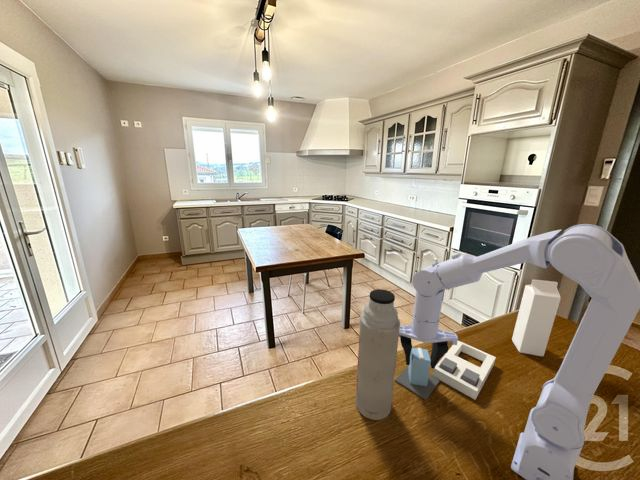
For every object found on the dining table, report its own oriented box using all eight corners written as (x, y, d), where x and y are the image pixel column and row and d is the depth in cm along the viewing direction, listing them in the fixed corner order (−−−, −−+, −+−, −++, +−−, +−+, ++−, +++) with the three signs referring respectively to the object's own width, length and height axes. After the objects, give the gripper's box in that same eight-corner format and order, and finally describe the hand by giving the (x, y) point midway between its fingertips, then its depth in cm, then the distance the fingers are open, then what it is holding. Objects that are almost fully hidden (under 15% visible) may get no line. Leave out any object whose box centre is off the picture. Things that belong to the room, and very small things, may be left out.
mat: (425, 400, 61) (425, 399, 61) (394, 380, 67) (395, 379, 67) (439, 381, 67) (439, 380, 66) (410, 364, 72) (410, 363, 72)
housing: (475, 400, 61) (477, 391, 61) (432, 376, 68) (434, 368, 68) (493, 364, 72) (495, 357, 71) (455, 347, 79) (456, 339, 78)
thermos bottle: (349, 409, 59) (355, 297, 51) (363, 384, 66) (369, 281, 58) (384, 427, 55) (396, 308, 47) (395, 398, 62) (407, 290, 54)
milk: (511, 340, 82) (527, 274, 76) (534, 343, 81) (552, 277, 75) (519, 352, 77) (537, 283, 71) (544, 357, 75) (564, 286, 69)
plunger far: (450, 380, 66) (452, 369, 66) (438, 373, 69) (440, 363, 68) (455, 373, 68) (457, 363, 68) (443, 367, 71) (445, 357, 70)
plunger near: (473, 392, 63) (475, 381, 62) (460, 385, 65) (462, 374, 64) (477, 385, 65) (479, 374, 64) (464, 378, 67) (466, 368, 66)
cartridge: (427, 386, 65) (431, 359, 62) (410, 383, 65) (413, 357, 63) (424, 373, 68) (427, 348, 66) (408, 371, 69) (411, 346, 67)
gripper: (454, 309, 64) (446, 356, 68) (392, 303, 66) (388, 349, 70) (464, 327, 57) (454, 377, 61) (395, 319, 60) (390, 368, 63)
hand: (419, 363), depth 65 cm, fingers open, 5 cm apart
